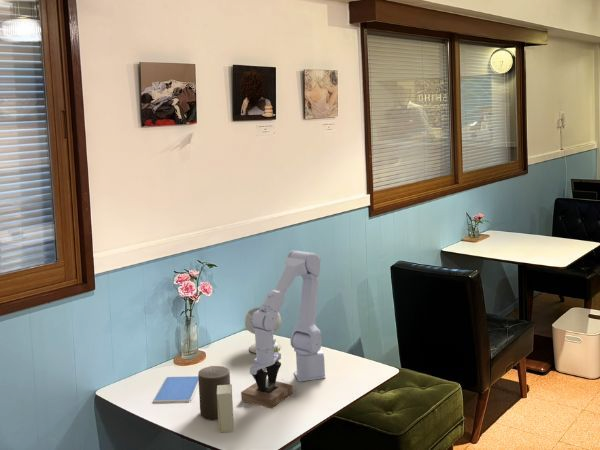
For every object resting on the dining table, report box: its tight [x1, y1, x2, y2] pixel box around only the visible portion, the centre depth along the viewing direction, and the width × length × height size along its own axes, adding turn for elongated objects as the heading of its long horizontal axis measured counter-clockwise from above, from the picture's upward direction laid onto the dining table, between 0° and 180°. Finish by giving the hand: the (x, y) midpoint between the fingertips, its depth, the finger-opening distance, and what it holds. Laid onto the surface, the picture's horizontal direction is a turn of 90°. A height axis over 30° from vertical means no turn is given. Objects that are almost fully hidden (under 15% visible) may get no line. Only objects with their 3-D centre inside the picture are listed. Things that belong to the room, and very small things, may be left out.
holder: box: [240, 378, 294, 410], centre depth 212 cm, size 12×12×3 cm
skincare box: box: [217, 383, 235, 433], centre depth 193 cm, size 6×4×12 cm
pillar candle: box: [197, 365, 231, 421], centre depth 202 cm, size 10×10×15 cm
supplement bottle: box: [273, 336, 280, 362], centre depth 239 cm, size 5×5×10 cm
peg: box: [258, 381, 275, 393], centre depth 213 cm, size 4×4×5 cm
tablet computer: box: [152, 375, 199, 404], centre depth 221 cm, size 19×13×1 cm, turn 178°
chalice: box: [244, 306, 282, 354], centre depth 253 cm, size 14×14×15 cm
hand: (267, 387), depth 212 cm, fingers open, 5 cm apart
